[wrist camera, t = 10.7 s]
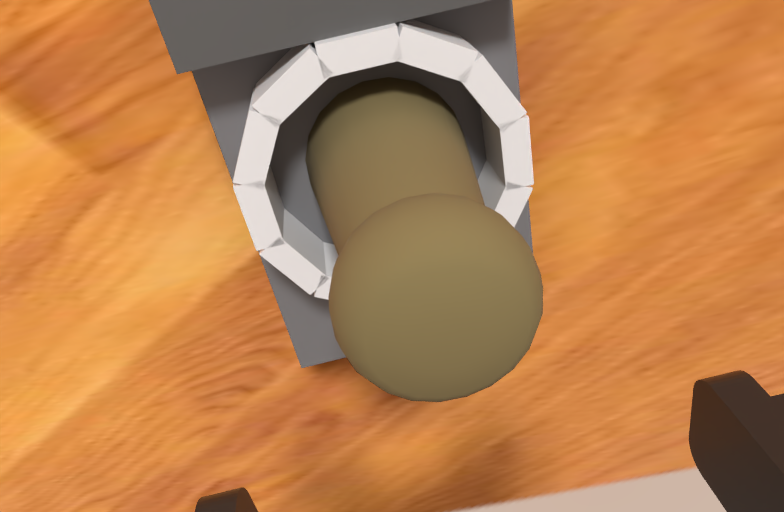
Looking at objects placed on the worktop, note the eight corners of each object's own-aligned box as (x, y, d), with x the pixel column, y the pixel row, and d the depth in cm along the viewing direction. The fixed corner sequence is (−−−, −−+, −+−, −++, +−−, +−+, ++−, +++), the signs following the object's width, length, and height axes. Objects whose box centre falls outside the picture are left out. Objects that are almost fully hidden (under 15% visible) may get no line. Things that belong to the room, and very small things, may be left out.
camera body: (459, -152, 22) (526, -168, 16) (505, 254, 32) (557, 345, 25) (167, -84, 22) (115, -73, 16) (300, 304, 32) (302, 408, 25)
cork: (367, 255, 25) (411, 475, 15) (270, 143, 22) (253, 331, 13) (493, 172, 24) (622, 355, 14) (409, 41, 21) (504, 165, 11)
